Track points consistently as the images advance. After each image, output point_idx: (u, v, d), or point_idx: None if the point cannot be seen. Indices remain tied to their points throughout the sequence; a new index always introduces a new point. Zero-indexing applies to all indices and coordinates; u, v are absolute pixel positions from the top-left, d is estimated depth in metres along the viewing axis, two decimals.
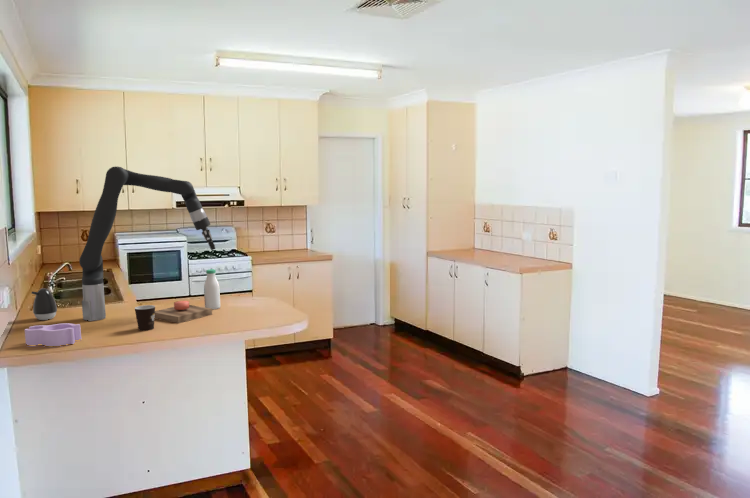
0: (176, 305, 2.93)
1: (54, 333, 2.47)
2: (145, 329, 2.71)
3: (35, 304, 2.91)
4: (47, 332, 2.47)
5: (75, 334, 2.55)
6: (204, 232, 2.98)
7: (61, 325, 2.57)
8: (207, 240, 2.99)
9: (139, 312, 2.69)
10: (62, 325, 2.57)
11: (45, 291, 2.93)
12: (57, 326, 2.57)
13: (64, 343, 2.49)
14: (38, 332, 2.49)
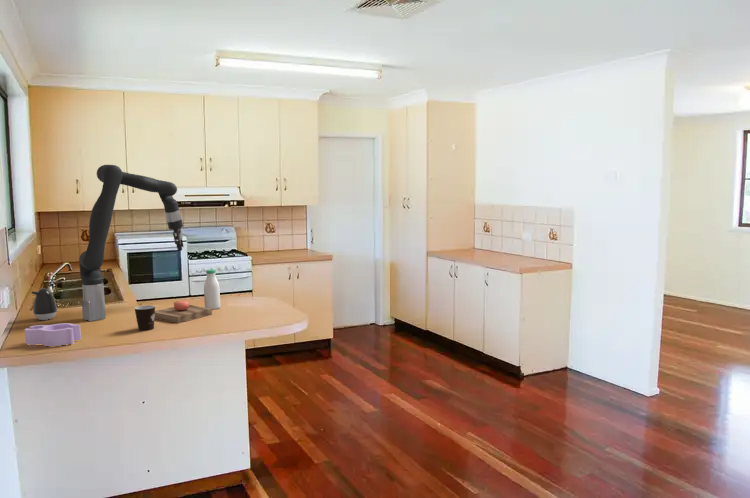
0: (176, 305, 2.93)
1: (53, 333, 2.47)
2: (145, 329, 2.71)
3: (35, 304, 2.91)
4: (46, 332, 2.47)
5: (75, 334, 2.55)
6: (174, 234, 3.17)
7: (61, 325, 2.57)
8: (175, 242, 3.18)
9: (139, 312, 2.69)
10: (62, 325, 2.57)
11: (45, 291, 2.93)
12: (58, 326, 2.57)
13: (63, 343, 2.49)
14: (38, 332, 2.49)
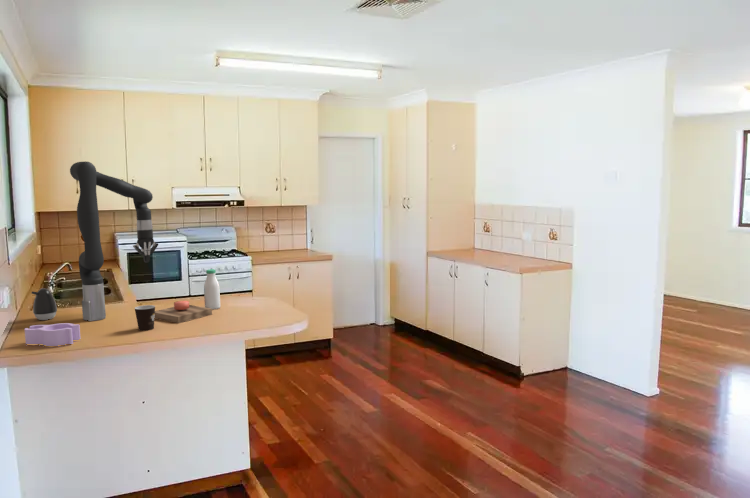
0: (176, 305, 2.93)
1: (52, 333, 2.47)
2: (145, 329, 2.71)
3: (35, 304, 2.91)
4: (45, 332, 2.47)
5: (74, 334, 2.55)
6: (134, 247, 3.08)
7: (61, 325, 2.58)
8: (139, 252, 3.11)
9: (139, 312, 2.69)
10: (62, 325, 2.58)
11: (45, 291, 2.93)
12: (57, 326, 2.57)
13: (62, 343, 2.49)
14: (37, 332, 2.49)
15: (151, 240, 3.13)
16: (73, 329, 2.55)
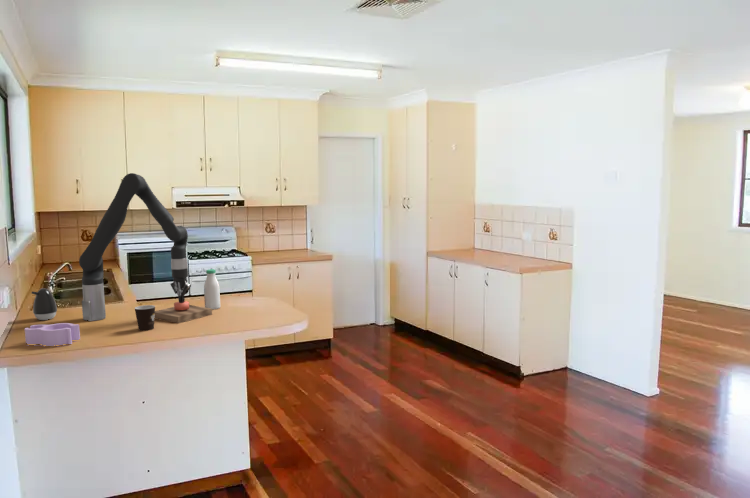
0: (176, 305, 2.93)
1: (51, 333, 2.47)
2: (145, 329, 2.71)
3: (35, 304, 2.91)
4: (44, 332, 2.47)
5: (74, 334, 2.55)
6: None
7: (61, 325, 2.58)
8: None
9: (139, 312, 2.69)
10: (62, 325, 2.58)
11: (45, 291, 2.93)
12: (57, 326, 2.57)
13: (61, 343, 2.49)
14: (37, 331, 2.50)
15: (182, 280, 2.93)
16: (72, 329, 2.55)
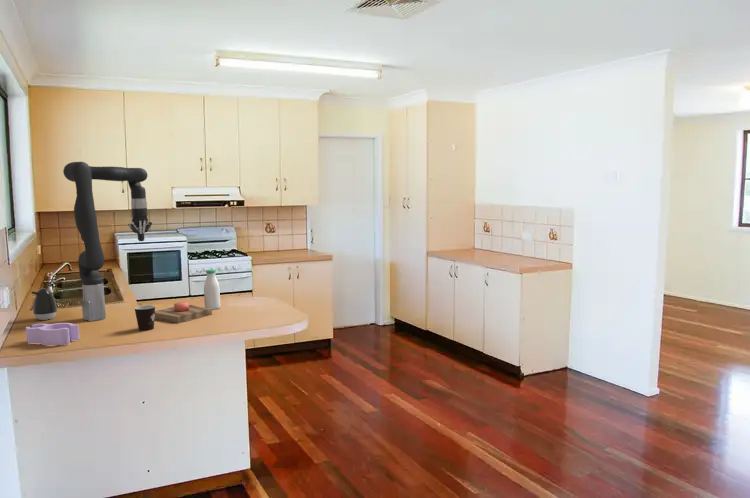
0: (176, 306, 2.93)
1: (49, 333, 2.48)
2: (145, 329, 2.71)
3: (35, 304, 2.91)
4: (43, 331, 2.48)
5: (73, 334, 2.55)
6: None
7: (62, 324, 2.58)
8: None
9: (139, 312, 2.69)
10: (63, 324, 2.58)
11: (45, 291, 2.93)
12: (58, 325, 2.58)
13: (59, 343, 2.49)
14: (37, 331, 2.51)
15: None
16: (72, 329, 2.55)
